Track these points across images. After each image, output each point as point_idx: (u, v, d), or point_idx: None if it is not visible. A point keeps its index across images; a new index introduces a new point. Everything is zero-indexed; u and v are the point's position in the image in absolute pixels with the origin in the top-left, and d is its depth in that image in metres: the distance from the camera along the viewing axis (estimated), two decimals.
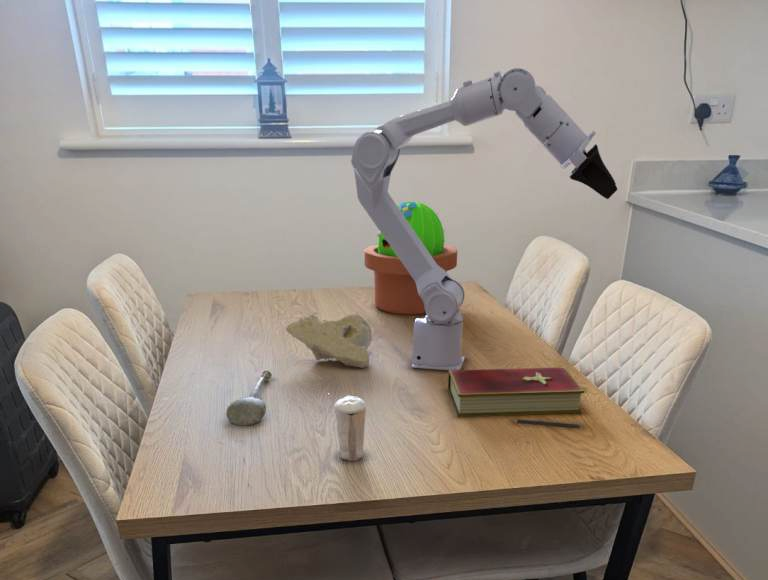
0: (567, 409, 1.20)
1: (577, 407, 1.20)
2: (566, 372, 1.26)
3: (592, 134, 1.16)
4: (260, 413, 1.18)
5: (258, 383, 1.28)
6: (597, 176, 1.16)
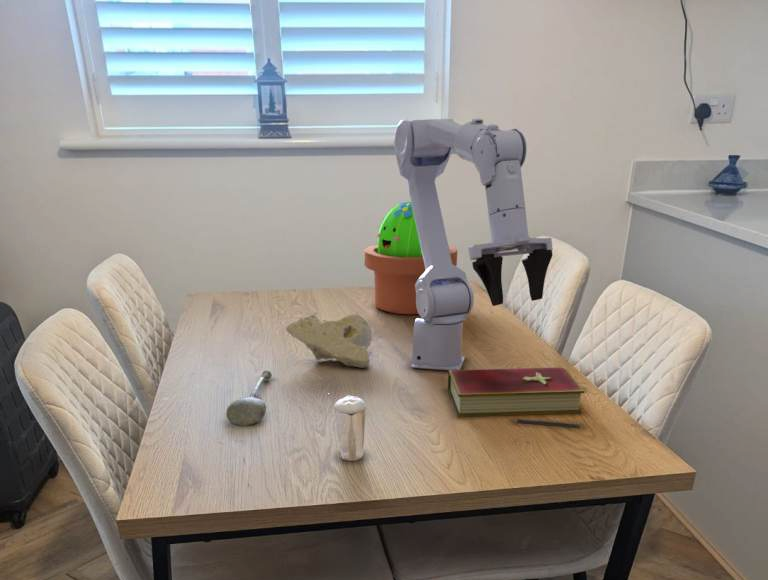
0: (567, 409, 1.20)
1: (577, 407, 1.20)
2: (566, 372, 1.26)
3: (518, 239, 1.09)
4: (260, 413, 1.18)
5: (258, 383, 1.28)
6: (492, 279, 1.12)
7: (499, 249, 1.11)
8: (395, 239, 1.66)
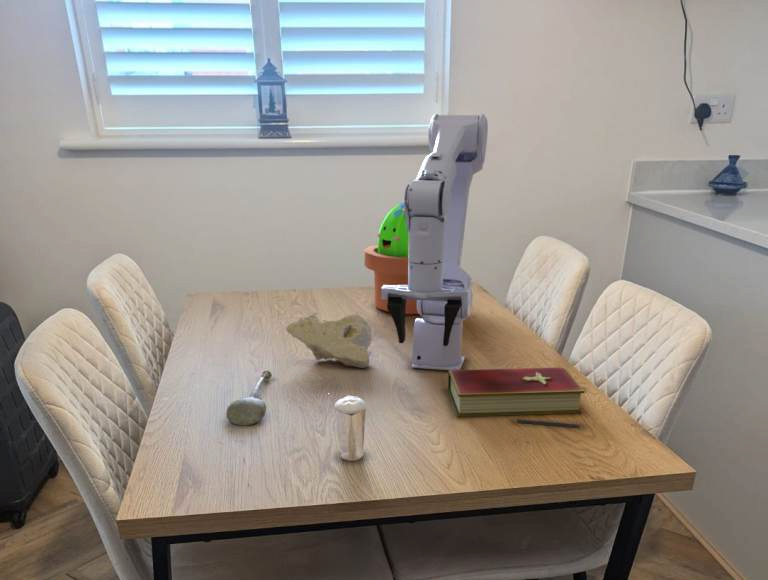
0: (567, 409, 1.20)
1: (577, 407, 1.20)
2: (566, 372, 1.26)
3: (415, 295, 1.16)
4: (260, 413, 1.18)
5: (258, 383, 1.28)
6: None
7: None
8: (395, 239, 1.66)
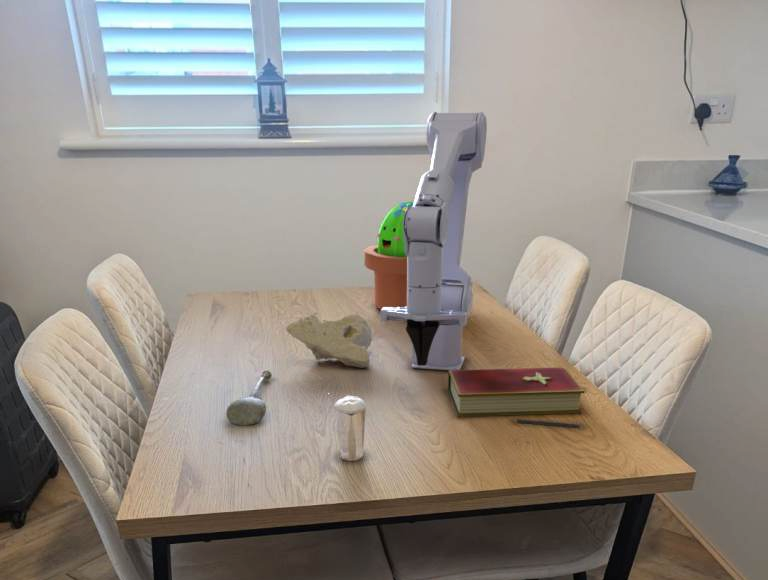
0: (567, 409, 1.20)
1: (577, 407, 1.20)
2: (566, 372, 1.26)
3: (413, 318, 1.18)
4: (260, 413, 1.18)
5: (258, 383, 1.28)
6: None
7: (405, 317, 1.21)
8: (395, 239, 1.66)
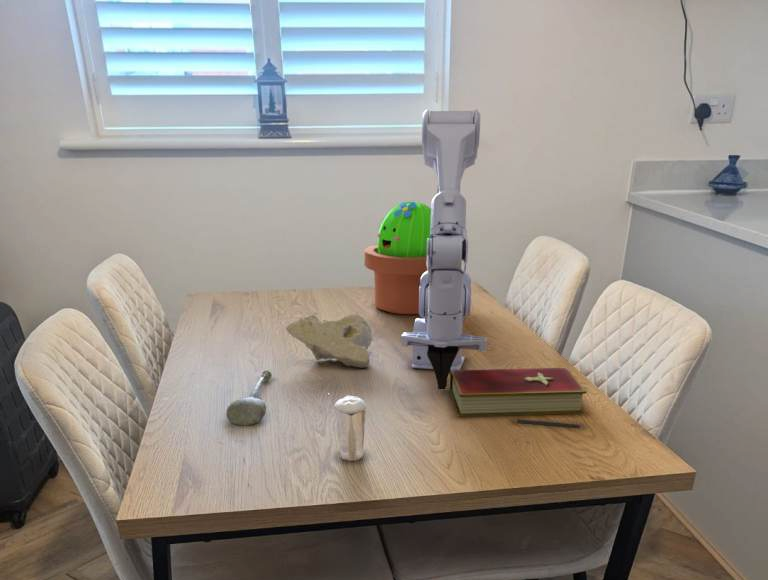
0: (569, 409, 1.20)
1: (579, 407, 1.20)
2: (568, 372, 1.26)
3: (434, 344, 1.19)
4: (260, 413, 1.18)
5: (258, 383, 1.28)
6: None
7: None
8: (395, 239, 1.66)
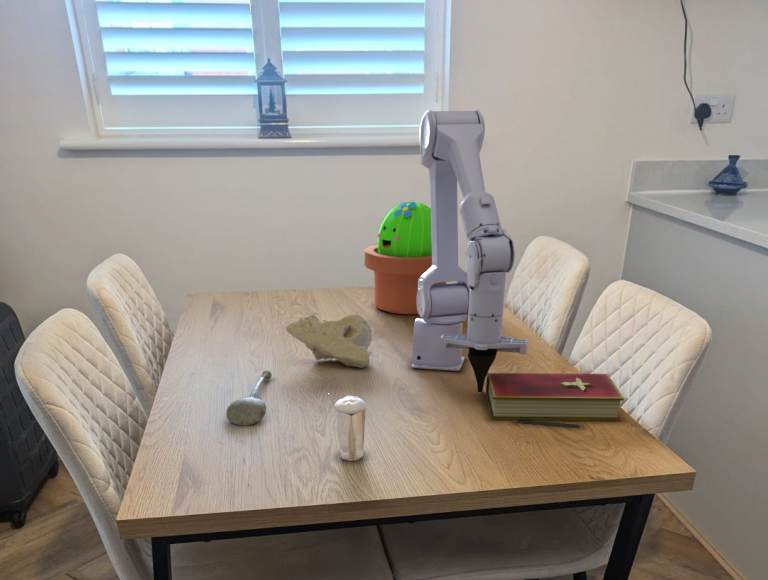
0: (605, 416, 1.17)
1: (616, 415, 1.17)
2: (608, 379, 1.23)
3: (475, 346, 1.18)
4: (260, 413, 1.18)
5: (258, 383, 1.28)
6: None
7: (465, 345, 1.21)
8: (395, 239, 1.66)
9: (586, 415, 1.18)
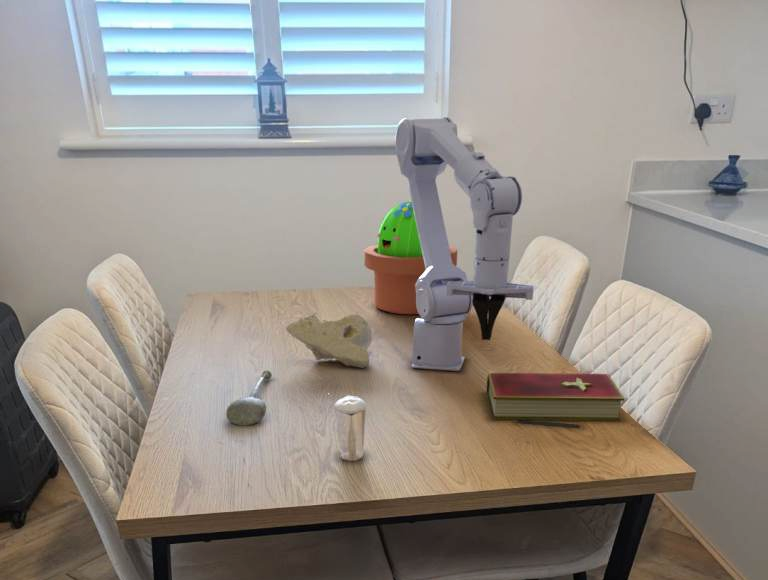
0: (606, 416, 1.17)
1: (616, 415, 1.17)
2: (608, 379, 1.23)
3: (481, 291, 1.18)
4: (260, 413, 1.18)
5: (258, 383, 1.28)
6: None
7: (471, 291, 1.21)
8: (395, 239, 1.66)
9: (587, 415, 1.18)
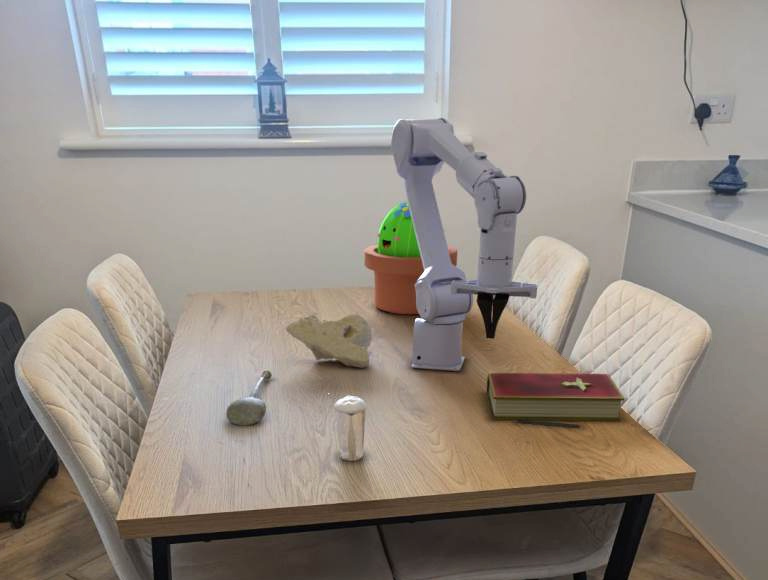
0: (606, 416, 1.17)
1: (616, 415, 1.17)
2: (608, 379, 1.23)
3: (485, 290, 1.19)
4: (260, 413, 1.18)
5: (258, 383, 1.28)
6: None
7: (476, 290, 1.22)
8: (395, 239, 1.66)
9: (587, 415, 1.18)
